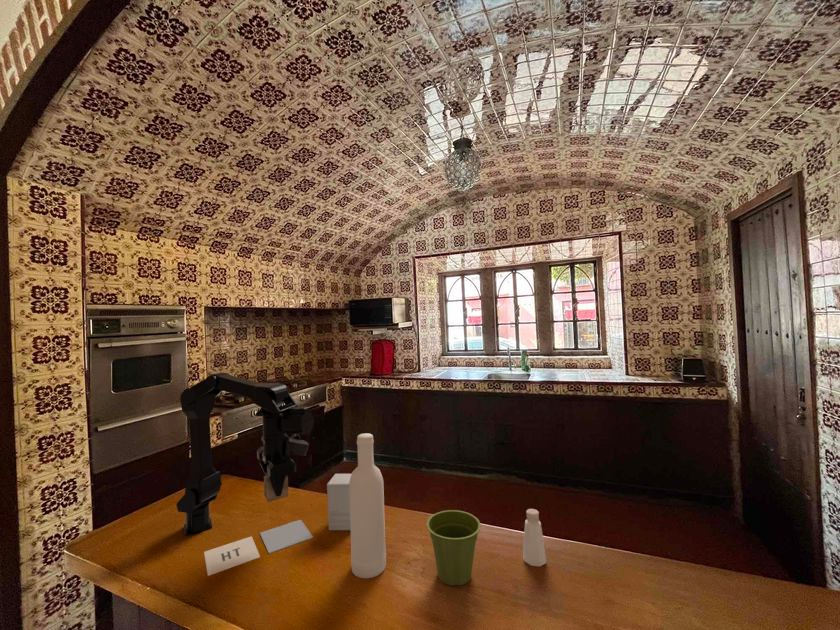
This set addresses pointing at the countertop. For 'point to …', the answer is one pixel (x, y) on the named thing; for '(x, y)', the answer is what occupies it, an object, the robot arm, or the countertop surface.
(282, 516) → the countertop surface
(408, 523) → the countertop surface
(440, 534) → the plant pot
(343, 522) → the supplement box
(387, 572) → the countertop surface
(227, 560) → the card
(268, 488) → the walnut block
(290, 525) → the grey mat
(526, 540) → the salt shaker
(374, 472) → the bottle
